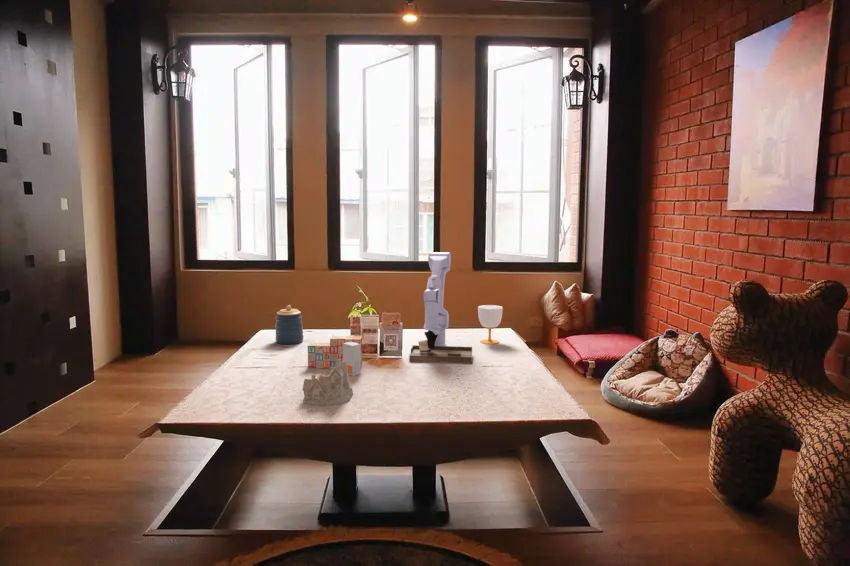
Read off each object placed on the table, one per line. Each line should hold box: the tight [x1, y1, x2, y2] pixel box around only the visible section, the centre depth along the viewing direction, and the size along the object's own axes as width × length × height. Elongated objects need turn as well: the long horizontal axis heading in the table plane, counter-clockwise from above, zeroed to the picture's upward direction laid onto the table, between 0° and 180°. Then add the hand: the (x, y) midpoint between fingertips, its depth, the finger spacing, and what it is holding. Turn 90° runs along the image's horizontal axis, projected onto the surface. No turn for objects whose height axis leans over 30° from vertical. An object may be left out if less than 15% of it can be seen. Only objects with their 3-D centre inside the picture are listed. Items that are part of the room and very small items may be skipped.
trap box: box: [408, 344, 473, 364], centre depth 259 cm, size 12×26×4 cm, turn 85°
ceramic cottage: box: [302, 359, 354, 406], centre depth 206 cm, size 16×16×15 cm
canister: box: [274, 304, 304, 345], centre depth 289 cm, size 13×13×18 cm
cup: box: [477, 304, 504, 345], centre depth 290 cm, size 12×12×17 cm
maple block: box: [418, 339, 430, 351], centre depth 263 cm, size 4×4×4 cm
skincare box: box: [343, 342, 362, 377], centre depth 236 cm, size 6×4×12 cm
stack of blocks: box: [307, 334, 363, 369], centre depth 246 cm, size 21×6×12 cm, turn 88°
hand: (431, 348), depth 261 cm, fingers closed, pressing on maple block
